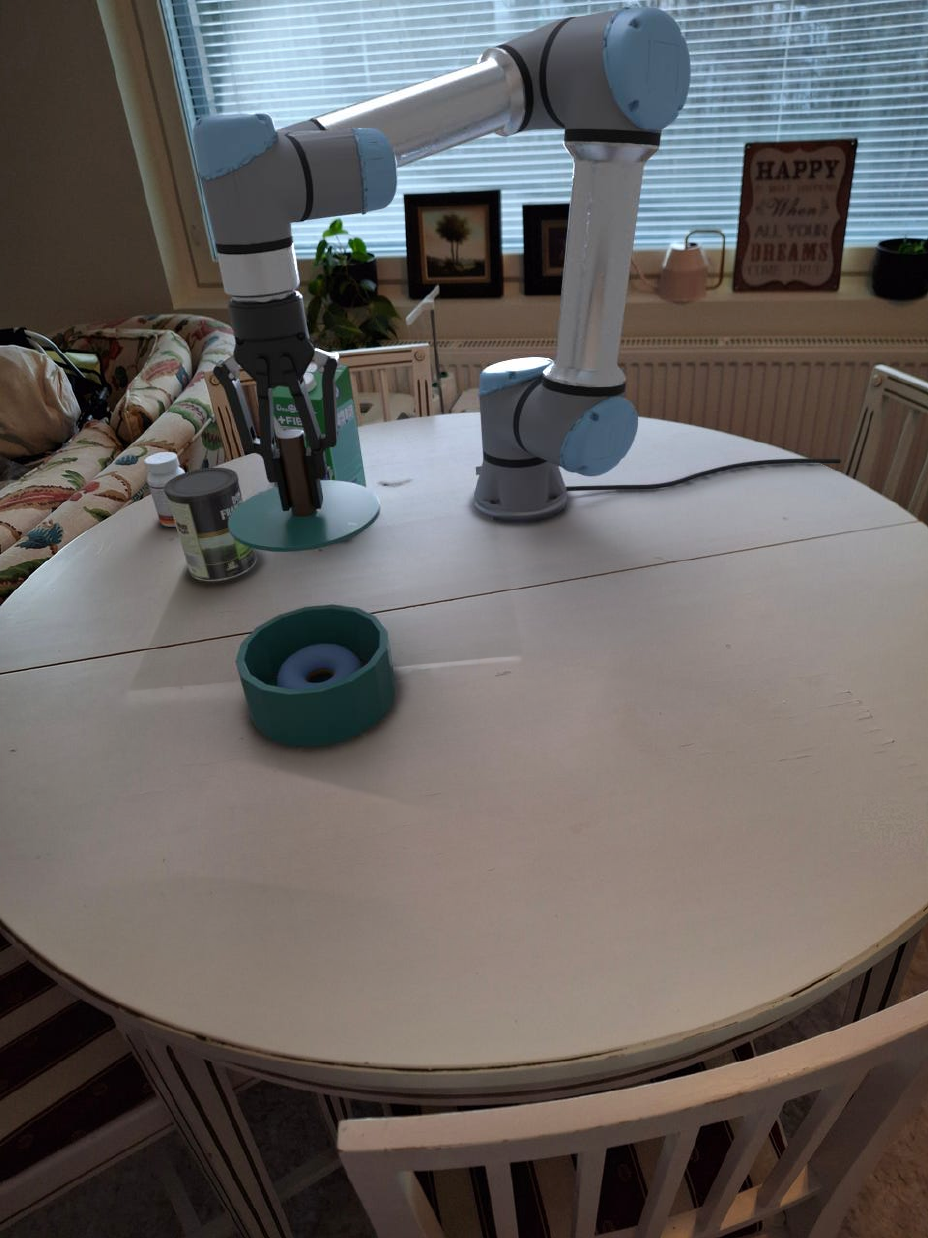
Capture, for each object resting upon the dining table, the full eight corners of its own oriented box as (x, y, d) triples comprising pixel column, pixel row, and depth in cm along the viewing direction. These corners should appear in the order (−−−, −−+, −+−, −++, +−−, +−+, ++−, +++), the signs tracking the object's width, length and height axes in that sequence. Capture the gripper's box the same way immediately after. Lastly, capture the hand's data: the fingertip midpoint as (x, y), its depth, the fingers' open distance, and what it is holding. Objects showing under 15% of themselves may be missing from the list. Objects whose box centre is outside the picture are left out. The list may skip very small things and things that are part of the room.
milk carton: (295, 533, 130) (263, 380, 116) (324, 509, 136) (297, 361, 122) (344, 540, 126) (317, 383, 112) (371, 515, 133) (348, 364, 119)
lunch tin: (395, 649, 101) (388, 599, 97) (394, 739, 87) (386, 685, 83) (262, 661, 101) (249, 611, 97) (240, 753, 87) (223, 700, 83)
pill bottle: (193, 508, 140) (176, 447, 134) (200, 522, 135) (183, 459, 129) (157, 517, 138) (138, 455, 132) (163, 531, 133) (143, 468, 127)
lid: (383, 483, 103) (373, 401, 97) (377, 550, 88) (365, 458, 82) (245, 494, 103) (226, 412, 97) (215, 562, 88) (191, 471, 82)
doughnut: (343, 729, 88) (337, 696, 86) (264, 714, 91) (256, 682, 89) (379, 674, 96) (374, 643, 94) (305, 663, 99) (299, 632, 97)
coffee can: (268, 551, 125) (249, 467, 117) (240, 586, 117) (217, 497, 109) (208, 548, 127) (185, 465, 119) (176, 582, 119) (149, 495, 111)
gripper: (345, 280, 84) (373, 486, 97) (193, 291, 84) (240, 496, 97) (340, 295, 78) (370, 513, 91) (175, 307, 78) (228, 524, 91)
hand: (303, 504), depth 94 cm, fingers closed on lid, 3 cm apart
